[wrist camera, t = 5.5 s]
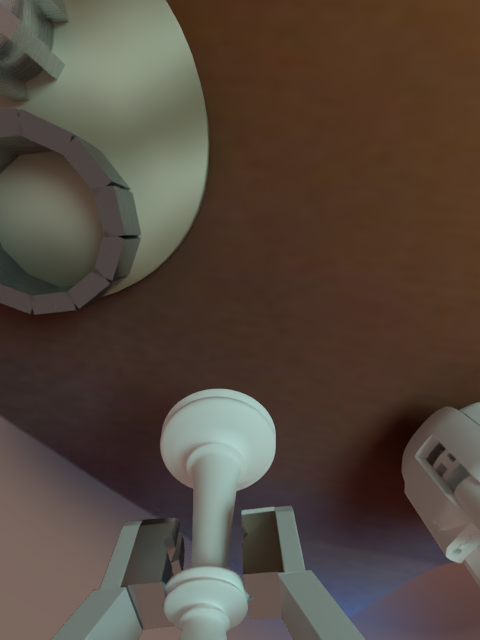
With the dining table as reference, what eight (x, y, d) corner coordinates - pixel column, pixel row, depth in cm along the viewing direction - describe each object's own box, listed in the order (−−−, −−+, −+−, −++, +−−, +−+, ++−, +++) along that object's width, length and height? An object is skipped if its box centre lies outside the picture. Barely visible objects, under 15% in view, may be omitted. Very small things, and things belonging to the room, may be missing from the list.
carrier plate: (-185, -46, 14) (-253, -91, 12) (181, -93, 13) (173, -147, 12) (-35, 309, 19) (-65, 317, 17) (227, 279, 19) (227, 284, 17)
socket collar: (-56, 141, 14) (-114, 123, 12) (117, 120, 14) (94, 98, 12) (7, 309, 17) (-30, 322, 15) (153, 292, 17) (140, 302, 15)
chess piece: (270, 482, 13) (367, 1169, 4) (164, 480, 13) (-38, 1190, 3) (280, 389, 12) (497, 1150, 2) (159, 386, 11) (-228, 1193, 2)
